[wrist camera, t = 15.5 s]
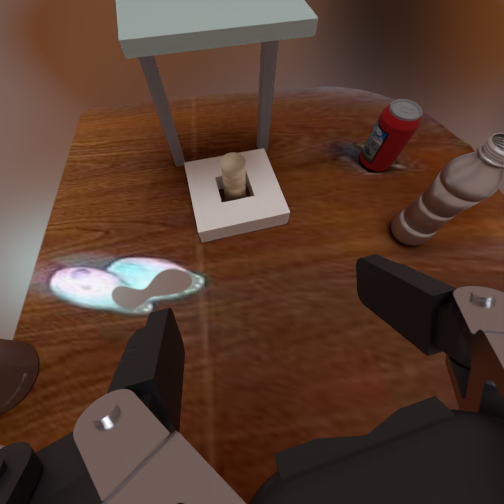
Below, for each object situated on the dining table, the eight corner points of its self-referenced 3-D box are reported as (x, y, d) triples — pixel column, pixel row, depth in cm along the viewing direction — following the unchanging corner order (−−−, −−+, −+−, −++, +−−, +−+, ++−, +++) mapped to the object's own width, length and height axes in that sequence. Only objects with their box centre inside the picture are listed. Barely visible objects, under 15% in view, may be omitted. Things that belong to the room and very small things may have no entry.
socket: (287, 223, 46) (290, 212, 43) (201, 242, 44) (198, 232, 41) (262, 161, 53) (263, 148, 49) (187, 175, 50) (183, 162, 47)
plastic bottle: (402, 213, 47) (497, 116, 29) (430, 239, 45) (553, 150, 27) (378, 228, 46) (464, 136, 28) (406, 256, 43) (520, 175, 25)
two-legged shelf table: (283, 188, 49) (318, 18, 26) (183, 208, 47) (118, 40, 23) (264, 140, 55) (277, -35, 31) (174, 156, 53) (114, -22, 29)
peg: (221, 203, 48) (216, 166, 39) (230, 188, 49) (226, 149, 41) (241, 209, 47) (239, 173, 38) (248, 194, 49) (249, 156, 40)
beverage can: (360, 147, 55) (388, 92, 44) (391, 155, 54) (427, 101, 43) (355, 169, 52) (384, 116, 41) (388, 177, 51) (426, 125, 40)
